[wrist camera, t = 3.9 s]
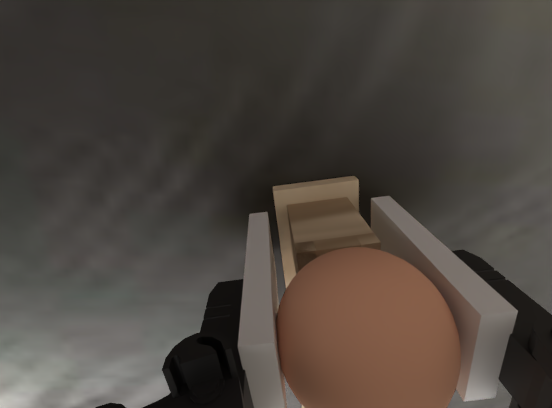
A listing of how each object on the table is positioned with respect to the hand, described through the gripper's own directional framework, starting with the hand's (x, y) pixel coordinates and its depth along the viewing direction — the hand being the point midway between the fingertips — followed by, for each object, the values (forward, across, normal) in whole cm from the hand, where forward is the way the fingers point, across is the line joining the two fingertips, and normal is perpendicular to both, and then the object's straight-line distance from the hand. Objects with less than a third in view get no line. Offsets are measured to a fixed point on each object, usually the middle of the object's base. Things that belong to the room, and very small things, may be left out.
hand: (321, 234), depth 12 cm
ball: (-3, 0, 0) cm, 3 cm away
